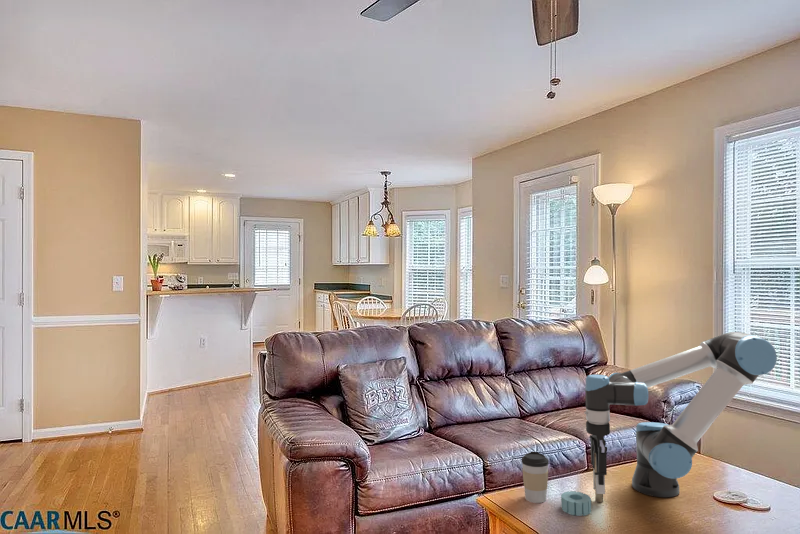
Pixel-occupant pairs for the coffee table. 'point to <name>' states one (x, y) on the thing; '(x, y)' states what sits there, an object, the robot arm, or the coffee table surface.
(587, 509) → the bead
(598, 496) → the tan cylindrical rod
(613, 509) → the coffee table surface
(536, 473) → the coffee cup
